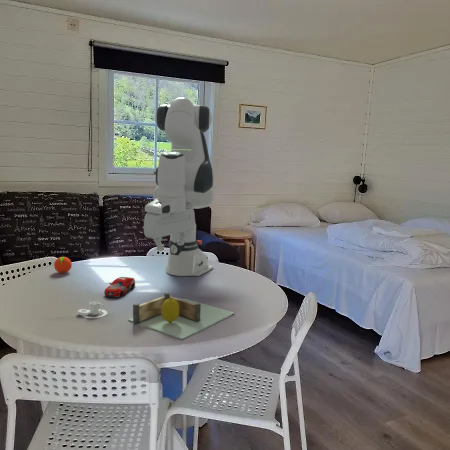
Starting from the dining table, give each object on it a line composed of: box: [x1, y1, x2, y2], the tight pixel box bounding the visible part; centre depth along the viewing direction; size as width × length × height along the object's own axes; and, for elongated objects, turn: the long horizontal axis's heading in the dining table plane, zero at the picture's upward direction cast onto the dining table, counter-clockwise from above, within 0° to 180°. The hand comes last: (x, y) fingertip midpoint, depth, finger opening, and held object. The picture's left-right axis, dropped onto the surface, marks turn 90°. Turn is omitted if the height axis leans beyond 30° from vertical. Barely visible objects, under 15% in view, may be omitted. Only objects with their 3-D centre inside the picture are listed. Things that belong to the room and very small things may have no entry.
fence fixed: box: [132, 292, 171, 325], centre depth 136 cm, size 15×2×6 cm, turn 145°
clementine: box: [53, 256, 73, 274], centre depth 182 cm, size 8×7×7 cm
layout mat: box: [127, 298, 235, 341], centre depth 138 cm, size 26×22×1 cm
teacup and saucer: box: [76, 300, 108, 319], centre depth 139 cm, size 9×8×4 cm
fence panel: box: [169, 295, 201, 321], centre depth 137 cm, size 13×2×5 cm, turn 52°
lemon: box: [161, 298, 179, 323], centre depth 132 cm, size 6×6×8 cm
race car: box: [104, 276, 136, 298], centre depth 161 cm, size 16×7×5 cm, turn 166°
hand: (170, 247), depth 138 cm, fingers open, 8 cm apart
